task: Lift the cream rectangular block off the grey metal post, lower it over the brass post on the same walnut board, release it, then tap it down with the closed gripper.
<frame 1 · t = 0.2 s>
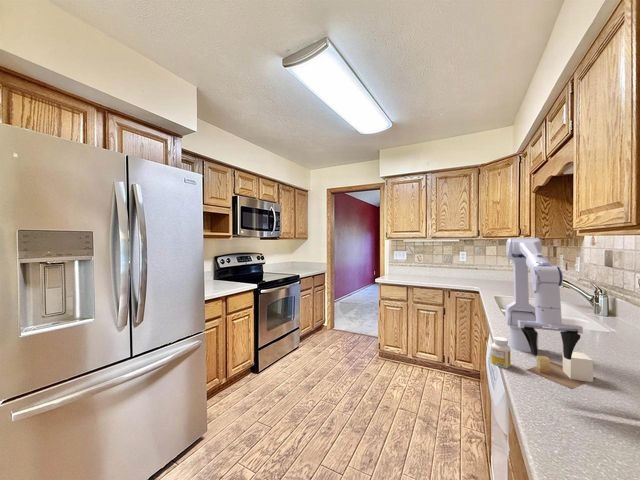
hand: (550, 356, 76), 11 cm above the worktop, tool pointing down, fingers open, 7 cm apart
board: (560, 377, 84), on the worktop
post a: (577, 369, 83), on the board, point 3 cm above the worktop
post b: (543, 371, 86), resting on board
supplement bottle: (500, 367, 91), on the worktop
cream rectangular block: (577, 365, 83), on the board, point 4 cm above the worktop
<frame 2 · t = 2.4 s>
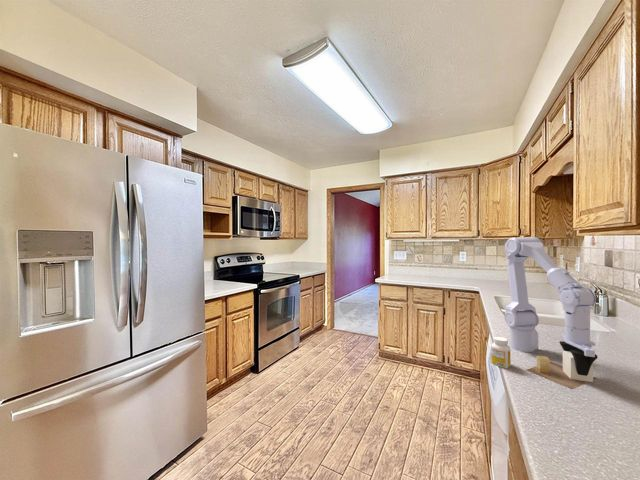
hand: (577, 370, 83), 3 cm above the worktop, tool pointing down, fingers closed on cream rectangular block, 5 cm apart
cream rectangular block: (577, 365, 83), on the board, point 4 cm above the worktop, touching gripper
everything else where it was.
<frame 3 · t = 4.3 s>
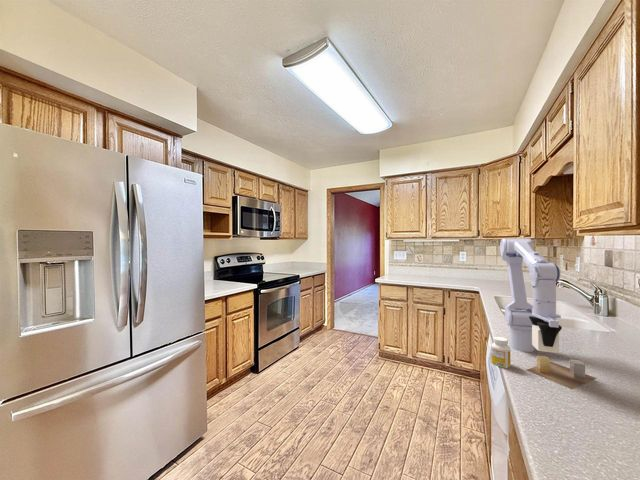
hand: (544, 342, 86), 10 cm above the worktop, tool pointing down, fingers closed on cream rectangular block, 5 cm apart
cream rectangular block: (545, 338, 86), point 12 cm above the worktop, touching gripper
everything else where it was.
when the fingers open (4 cm above the worktop, at t = 6.1 s): cream rectangular block stays where it is, resting on board.
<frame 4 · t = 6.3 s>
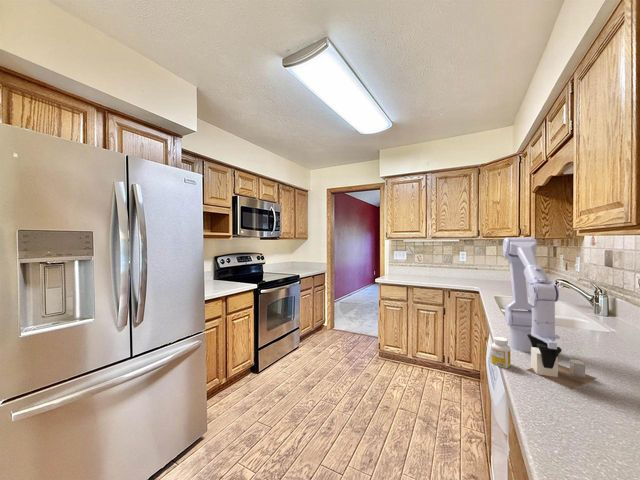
hand: (543, 362, 86), 4 cm above the worktop, tool pointing down, fingers open, 7 cm apart
cream rectangular block: (543, 361, 86), on the board, point 4 cm above the worktop
everything else where it was.
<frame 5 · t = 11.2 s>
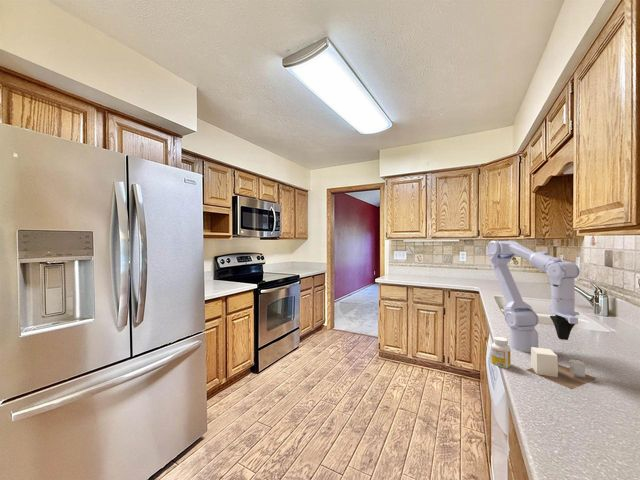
hand: (562, 339, 88), 10 cm above the worktop, tool pointing down, fingers closed
nothing on the worktop moved.
at the end: cream rectangular block 0.1 cm from the post b (horizontally); cream rectangular block point 4.3 cm above the worktop; cream rectangular block tilted 0° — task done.
